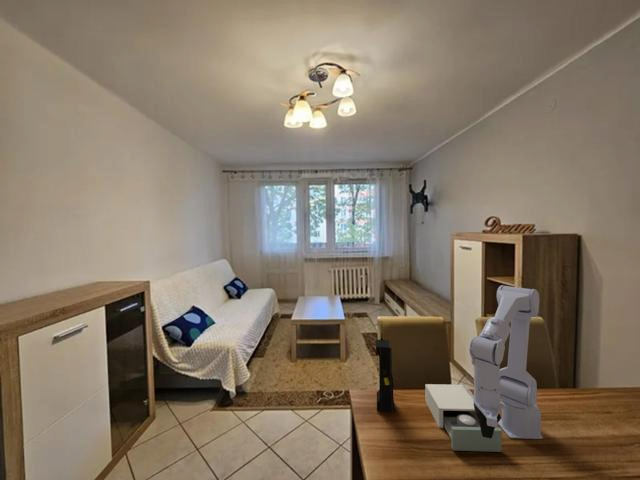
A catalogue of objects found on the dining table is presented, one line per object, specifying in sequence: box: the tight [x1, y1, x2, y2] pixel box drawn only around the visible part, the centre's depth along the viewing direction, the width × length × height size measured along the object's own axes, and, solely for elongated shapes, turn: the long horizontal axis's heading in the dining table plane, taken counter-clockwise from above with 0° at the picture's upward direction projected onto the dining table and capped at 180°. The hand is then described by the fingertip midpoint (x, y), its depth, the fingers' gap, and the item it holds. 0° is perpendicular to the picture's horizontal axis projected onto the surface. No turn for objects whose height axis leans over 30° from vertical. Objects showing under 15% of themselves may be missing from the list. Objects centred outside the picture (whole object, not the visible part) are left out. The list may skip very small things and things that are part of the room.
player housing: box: [424, 383, 480, 429], centre depth 95 cm, size 14×14×6 cm
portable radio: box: [375, 332, 395, 413], centre depth 99 cm, size 8×6×25 cm
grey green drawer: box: [443, 416, 503, 453], centre depth 85 cm, size 13×13×6 cm
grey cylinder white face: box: [456, 413, 478, 427], centre depth 84 cm, size 6×6×4 cm
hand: (486, 435), depth 73 cm, fingers closed
